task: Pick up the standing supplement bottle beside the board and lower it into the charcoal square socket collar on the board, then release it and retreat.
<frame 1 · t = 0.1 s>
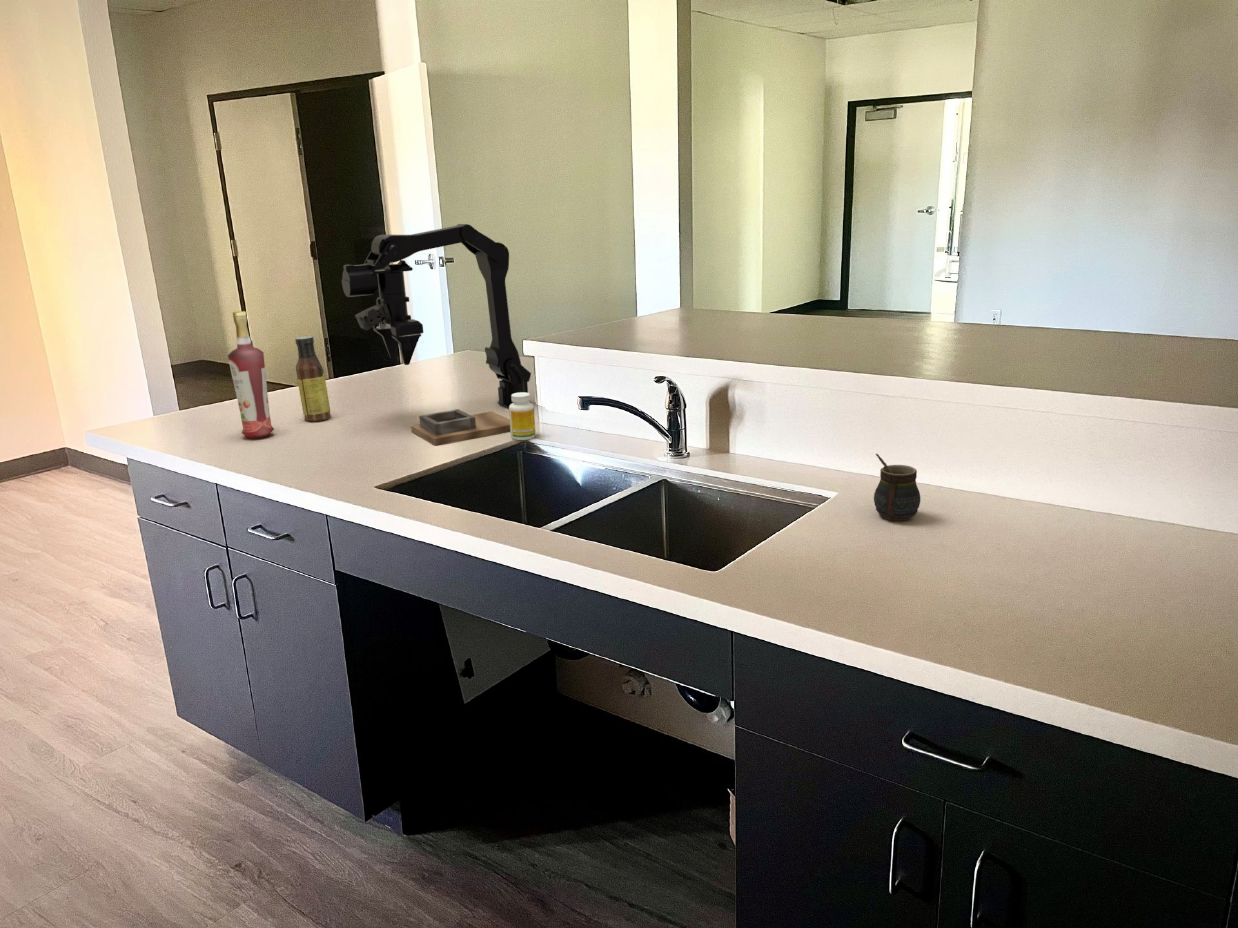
hand: (399, 361, 206), 15 cm above the worktop, fingers open, 9 cm apart
supplement bottle: (523, 438, 196), on the worktop
sauce bottle: (317, 420, 217), on the worktop
mate gourd: (894, 517, 145), on the worktop
liquor: (258, 437, 204), on the worktop
socket board: (465, 430, 203), on the worktop
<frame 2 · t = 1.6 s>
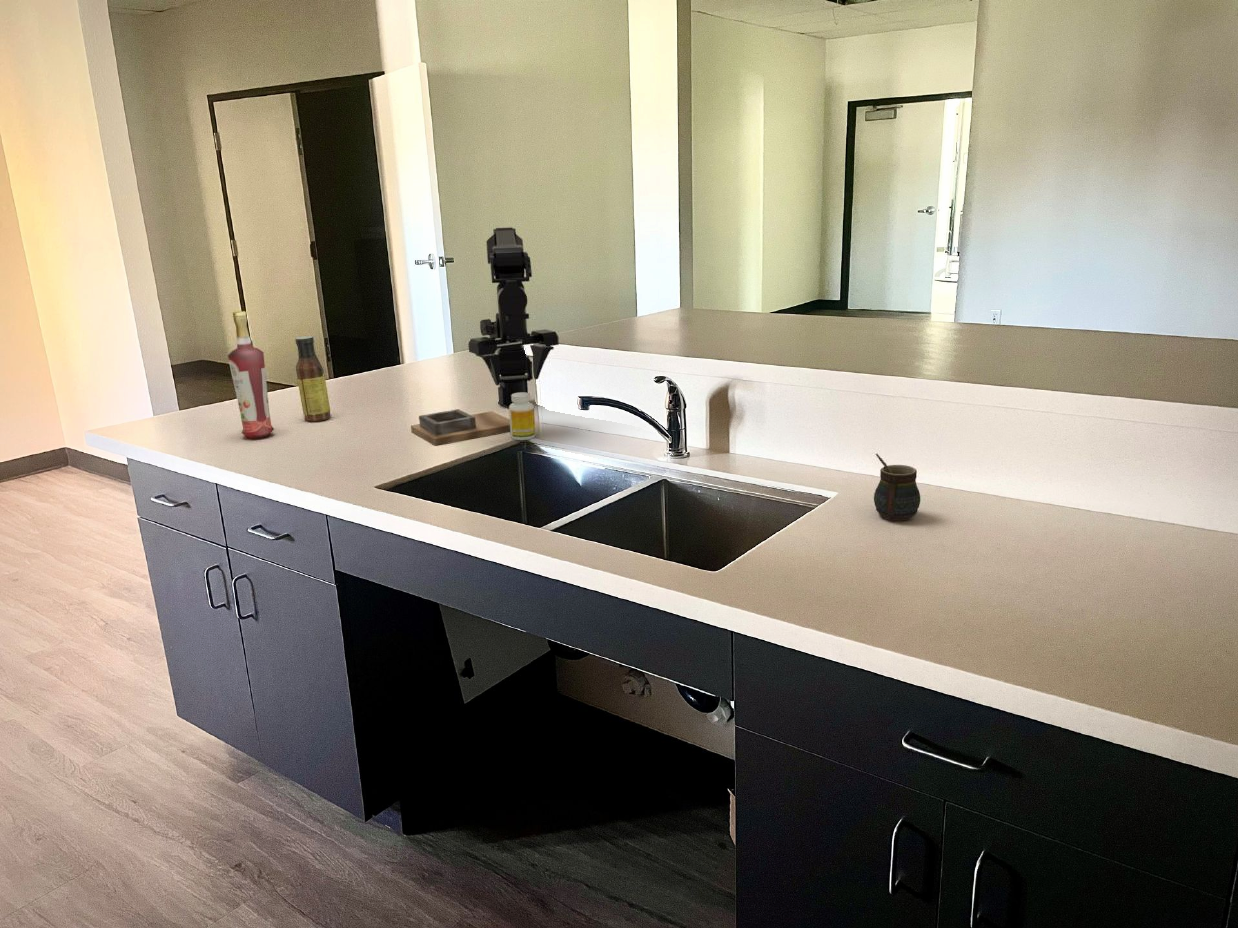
hand: (516, 382, 193), 12 cm above the worktop, fingers open, 9 cm apart
nothing on the worktop moved.
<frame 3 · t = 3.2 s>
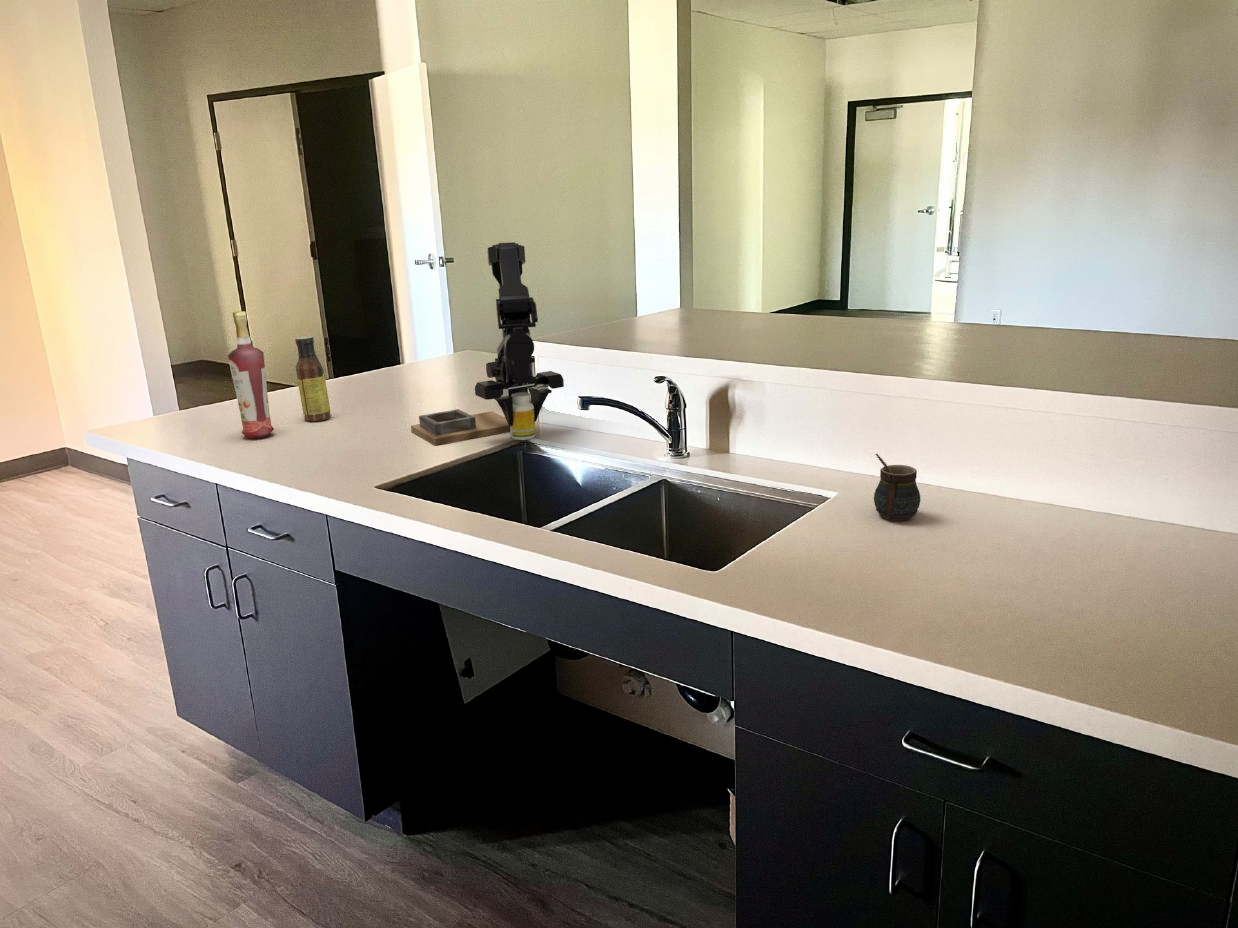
hand: (522, 423, 195), 3 cm above the worktop, fingers closed on supplement bottle, 5 cm apart
supplement bottle: (523, 438, 196), on the worktop, touching gripper
everything else where it was.
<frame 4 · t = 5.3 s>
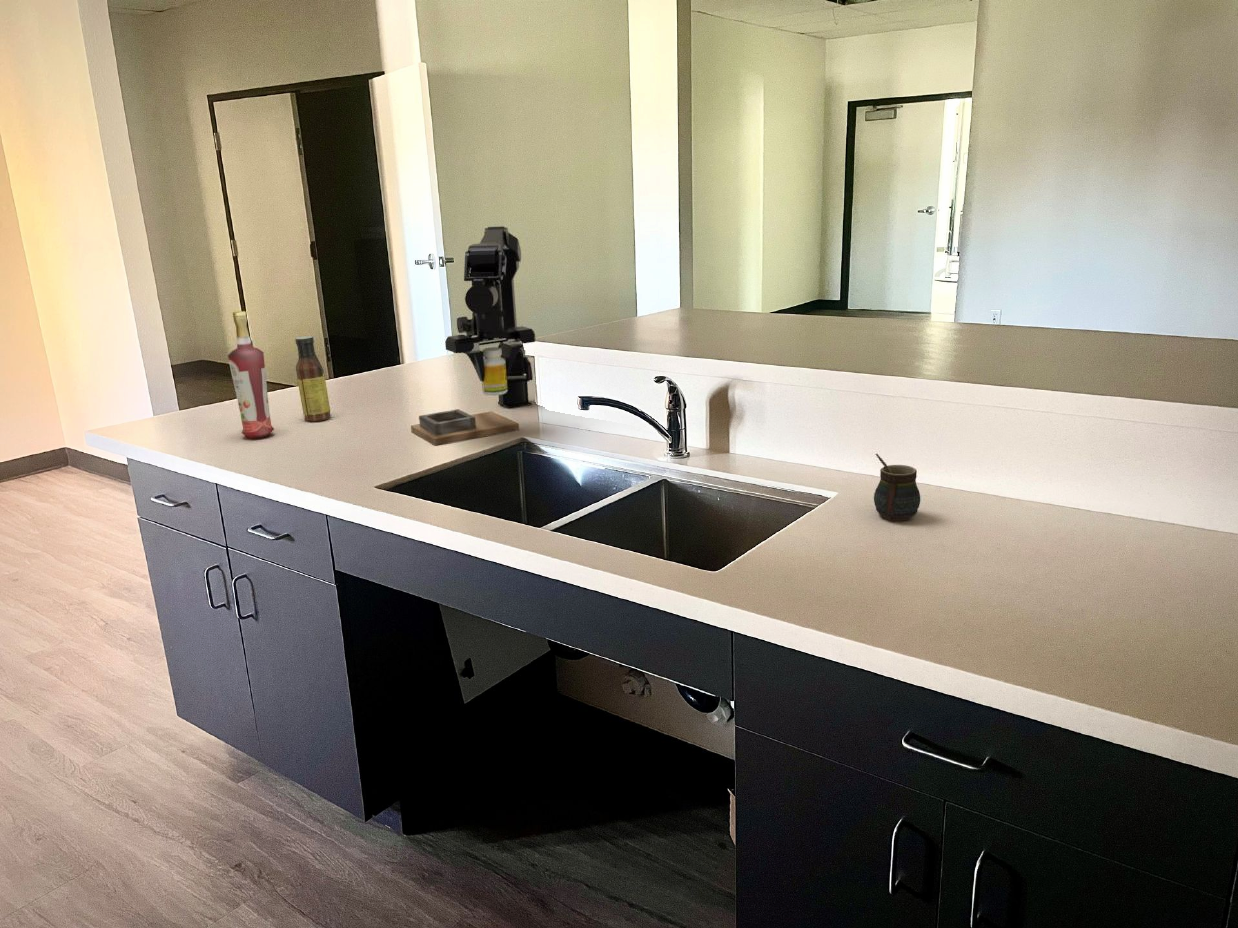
hand: (494, 379, 194), 13 cm above the worktop, fingers closed on supplement bottle, 5 cm apart
supplement bottle: (495, 393, 195), point 9 cm above the worktop, touching gripper
everything else where it was.
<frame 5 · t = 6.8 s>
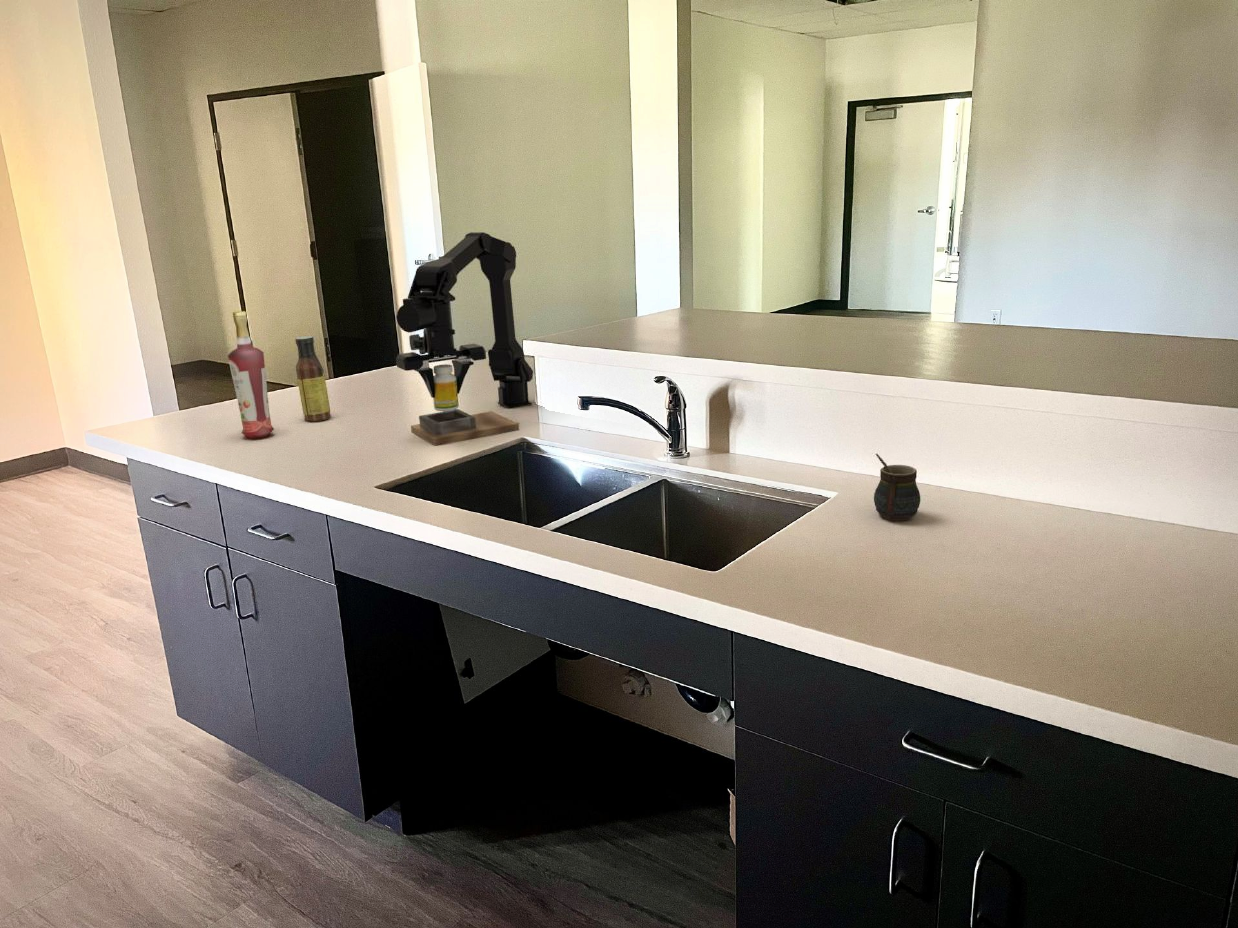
hand: (445, 395, 198), 9 cm above the worktop, fingers closed on supplement bottle, 5 cm apart
supplement bottle: (446, 409, 199), point 6 cm above the worktop, touching gripper
everything else where it was.
when the fingers open (5 cm above the worktop, at t = 7.8 s): supplement bottle stays where it is, resting on socket board.
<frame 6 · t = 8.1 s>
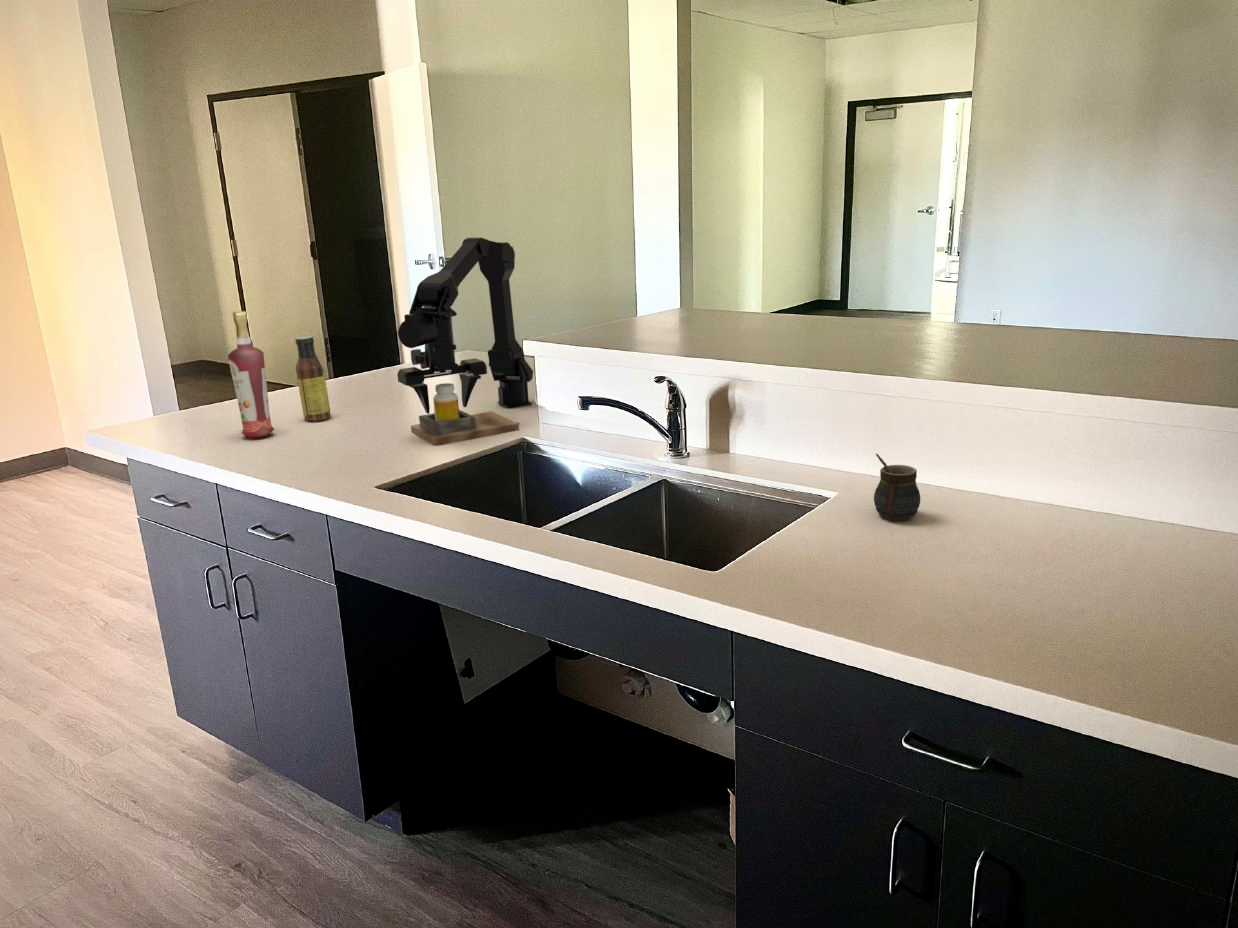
hand: (446, 410, 199), 5 cm above the worktop, fingers open, 8 cm apart
supplement bottle: (448, 428, 200), point 1 cm above the worktop, touching socket board
everything else where it was.
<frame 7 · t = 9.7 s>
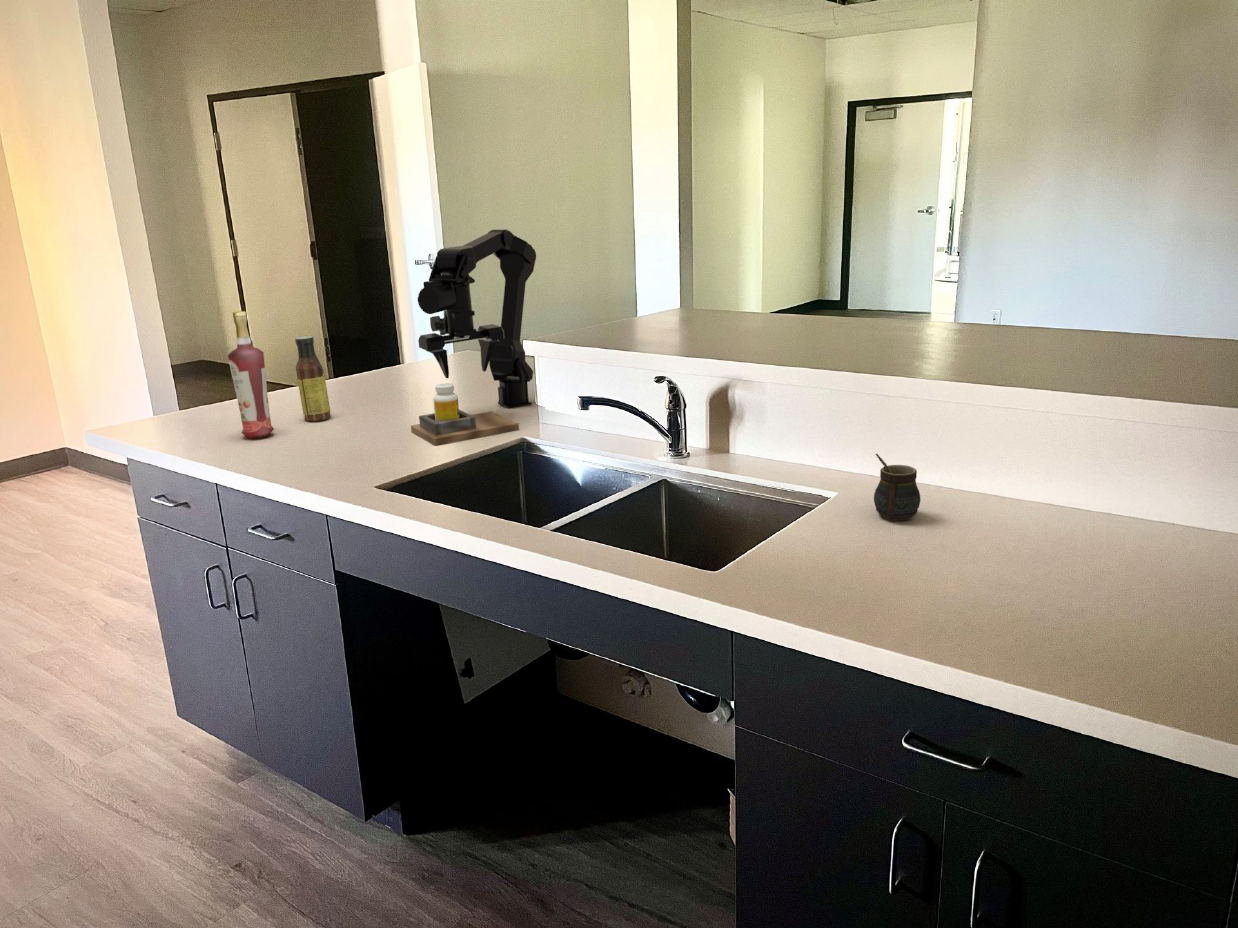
hand: (465, 374, 206), 11 cm above the worktop, fingers open, 9 cm apart
nothing on the worktop moved.
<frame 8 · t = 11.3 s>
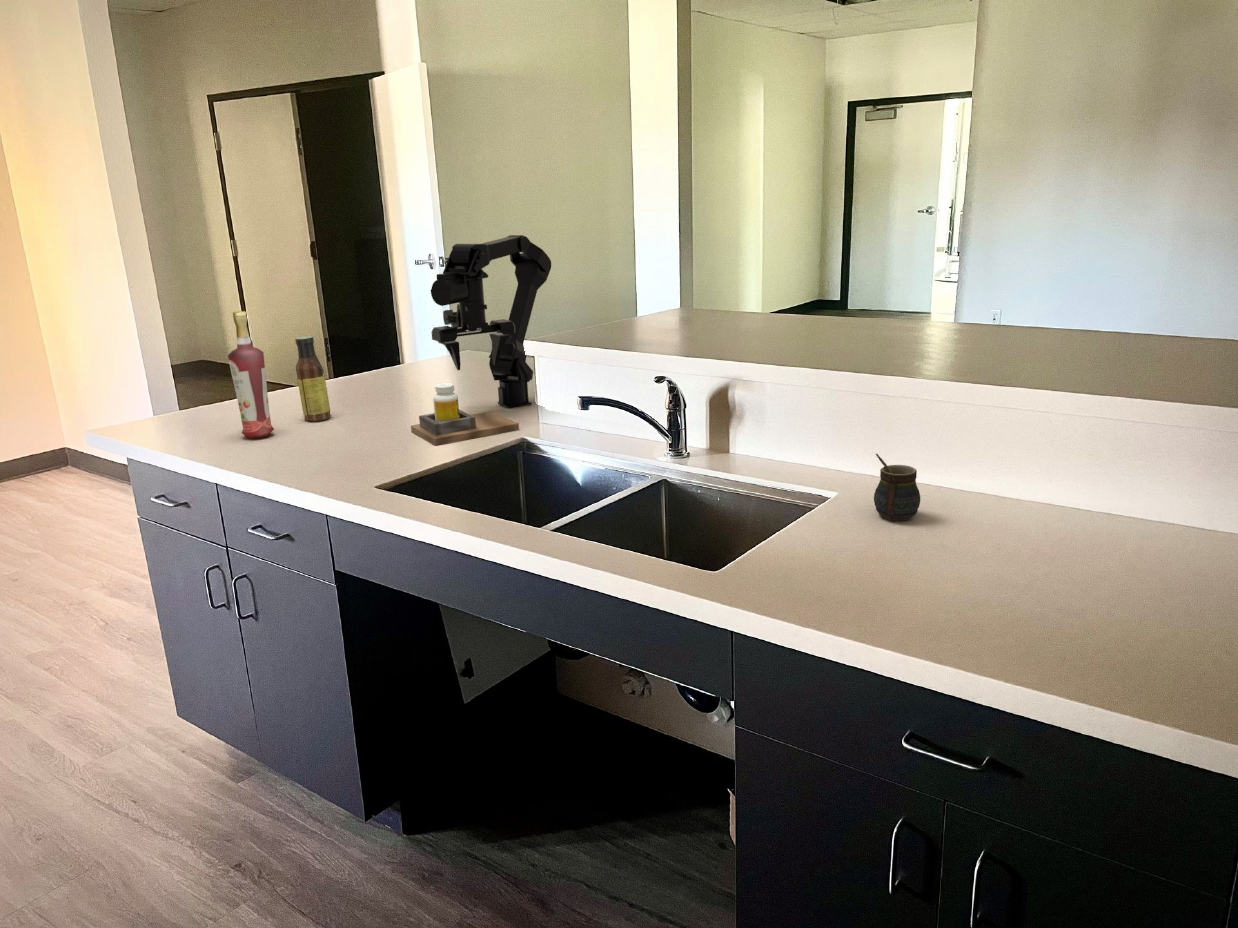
hand: (476, 367, 210), 12 cm above the worktop, fingers open, 9 cm apart
nothing on the worktop moved.
at the end: supplement bottle 0.1 cm from the target spot on the socket board, point 1.3 cm above the socket board's base; supplement bottle tilted 0°; the gripper is holding nothing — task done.
